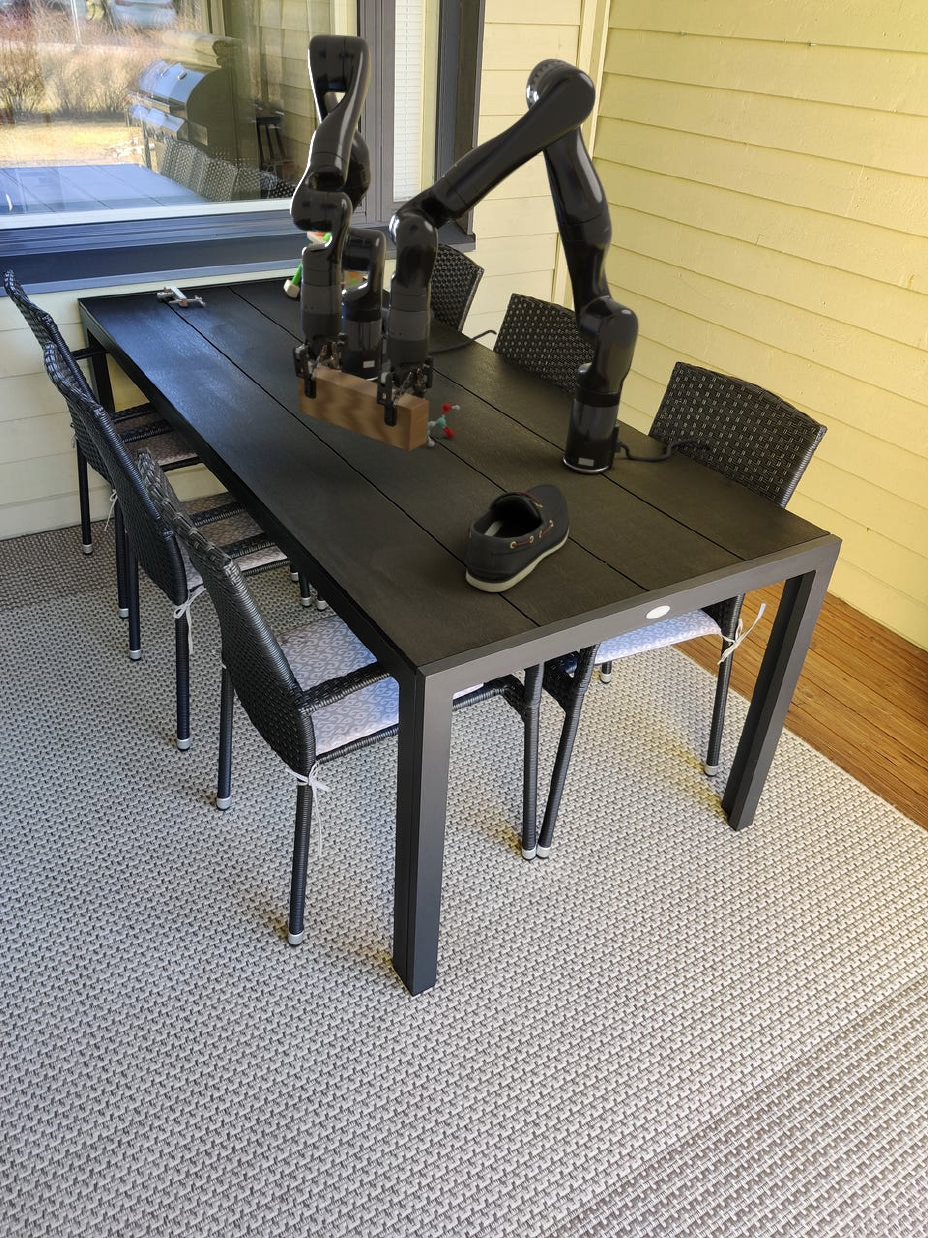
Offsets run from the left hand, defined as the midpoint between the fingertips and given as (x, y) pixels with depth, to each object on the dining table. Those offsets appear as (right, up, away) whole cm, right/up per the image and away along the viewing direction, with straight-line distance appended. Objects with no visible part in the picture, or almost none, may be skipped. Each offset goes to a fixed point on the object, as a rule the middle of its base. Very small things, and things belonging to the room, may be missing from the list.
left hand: (321, 392), depth 189 cm
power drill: (+8, +36, +76) cm, 84 cm away
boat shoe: (+37, -31, -19) cm, 52 cm away
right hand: (+16, -7, -9) cm, 20 cm away
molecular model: (+20, -6, +16) cm, 26 cm away
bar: (+8, -7, -2) cm, 11 cm away
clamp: (-49, +42, +76) cm, 100 cm away
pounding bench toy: (-13, +50, +93) cm, 106 cm away
